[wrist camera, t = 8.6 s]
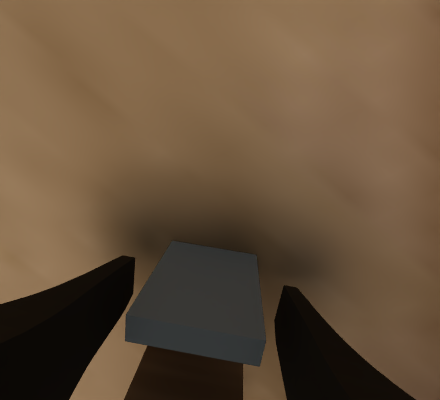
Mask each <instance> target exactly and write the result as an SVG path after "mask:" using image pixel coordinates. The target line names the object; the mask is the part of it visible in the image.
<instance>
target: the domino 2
mask: <svg viewBox="0 0 440 400" xmlns="http://www.w3.org/2000/svg"><path fill="white" fill-rule="evenodd" d="M124 400H243V363H238V362H233V361H227V360H222V359H217V358H211V357H206V356H201V355H196V354H190V353H185V352H180V351H175V350H169V349H164V348H159V347H153V346H147V348H146V350H145V353H144V355H143V357H142V360H141V362H140V364H139V366H138V369H137V371H136V373H135V376H134V378H133V380H132V382H131V385H130V387H129V389H128V392H127V394H126V396H125V398H124Z"/></svg>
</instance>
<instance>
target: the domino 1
mask: <svg viewBox="0 0 440 400" xmlns="http://www.w3.org/2000/svg"><path fill="white" fill-rule="evenodd" d="M125 341H127V342H132V343H138V344H143V345H148V346H153V347H159V348H164V349H169V350H175V351H180V352H185V353H190V354H196V355H201V356H206V357H211V358H217V359H222V360H227V361H233V362H238V363H243V364H248V365H254V366H259V367H260V363H261V359H262V355H263V351H264V347H265V343H266V335H265V326H264V317H263V309H262V300H261V291H260V282H259V273H258V264H257V255H255V254H249V253H243V252H237V251H231V250H225V249H219V248H213V247H208V246H202V245H196V244H190V243H184V242H178V241H172V242H171V244H170V245H169V247H168V248H167V250H166V252H165V253H164V255H163V256H162V258H161V260H160V261H159V263H158V264H157V266H156V267H155V269H154V271H153V272H152V274H151V275H150V277H149V279H148V280H147V282H146V283H145V285H144V287H143V288H142V290H141V291H140V293H139V295H138V296H137V298H136V299H135V301H134V303H133V304H132V306H131V307H130V309H129V311H128V312H127V314H126V328H125Z"/></svg>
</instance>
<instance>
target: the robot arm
mask: <svg viewBox="0 0 440 400" xmlns="http://www.w3.org/2000/svg"><path fill="white" fill-rule="evenodd" d="M134 270H135V258H134V257H129V256H121V257H118V258H116V259H114V260H112V261H110V262H108V263H106V264H104V265H102V266H100V267H98V268H96V269H94V270H92V271H90V272H88V273H86V274H83V275H81V276H79V277H77V278H74V279H72V280H70V281H67V282H65V283H63V284H60V285H58V286H55V287H53V288H50V289H47V290H45V291H42V292H39V293H36V294H33V295H30V296H27V297H24V298H20V299H17V300H13V301H10V302H7V303H3V304H0V400H69V399H70V397H71V395H72V393H73V391H74V389H75V388H76V386H77V384H78V382H79V381H80V379H81V377H82V375H83V373H84V372H85V370H86V368H87V366H88V365H89V363H90V362H91V360H92V358H93V357H94V355H95V354H96V352H97V351H98V349H99V348H100V346H101V345H102V344H103V342H104V341H105V339H106V338H107V336H108V335H109V333H110V332H111V330H112V329H113V327H114V326H115V324H116V323H117V321H118V320H119V318H120V317H121V315H122V314H123V312H124V310H125V309H126V307H127V305H128V303H129V301H130V299H131V297H132V295H133V287H134ZM274 322H275V337H276V345H277V351H278V356H279V361H280V367H281V372H282V377H283V382H284V387H285V392H286V398H287V400H416V399H414V398H413V397H411V396H410V395H409V394H407V393H406V392H405V391H403V390H402V389H401V388H399V387H398V386H396V385H395V384H394V383H393V382H391V381H390V380H389V379H388V378H386V377H385V376H384V375H383V374H381V373H380V372H379V371H378V370H376V369H375V368H374V367H373V366H372V365H370V364H369V363H368V362H367V361H366V360H365V359H363V358H362V357H361V356H360V355H359V354H358V353H357V352H356V351H355V350H353V349H352V348H351V347H350V346H349V345H348V344H347V343H346V342H345V341H344V340H343V339H342V338H341V337H340V336H339V335H338V334H337V333H336V332H335V331H334V330H333V329H332V328H331V326H330V325H329V324H328V323H327V322H326V321H325V320H324V319H323V318H322V317H321V315H320V314H319V313H318V312H317V311H316V310H315V308H314V307H313V306H312V305H311V304H310V302H309V301H308V300H307V299H306V298H305V296H304V295H303V294H302V293H301V292H300V291H299V289H298V288H296V287H290V286H285V285H284V287H283V290H282V294H281V298H280V302H279V305H278V309H277V313H276V316H275V320H274Z"/></svg>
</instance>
